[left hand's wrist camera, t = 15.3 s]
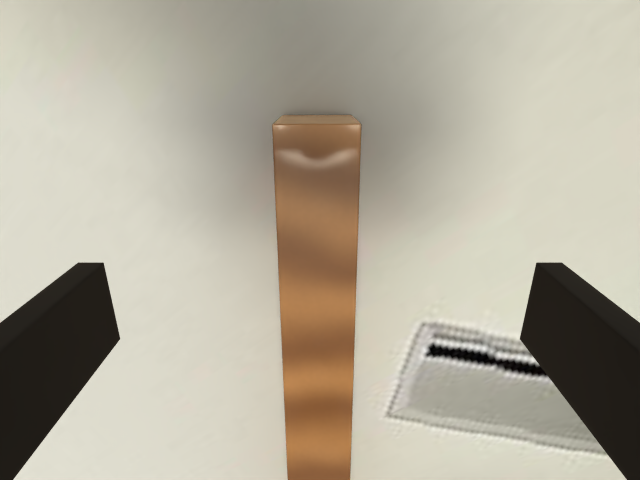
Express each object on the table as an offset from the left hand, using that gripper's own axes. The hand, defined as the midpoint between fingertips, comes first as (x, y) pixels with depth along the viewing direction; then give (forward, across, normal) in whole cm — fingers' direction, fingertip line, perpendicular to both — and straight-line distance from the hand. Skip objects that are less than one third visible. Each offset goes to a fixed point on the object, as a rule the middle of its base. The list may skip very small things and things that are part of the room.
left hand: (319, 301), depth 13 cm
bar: (+22, 0, -26) cm, 34 cm away
